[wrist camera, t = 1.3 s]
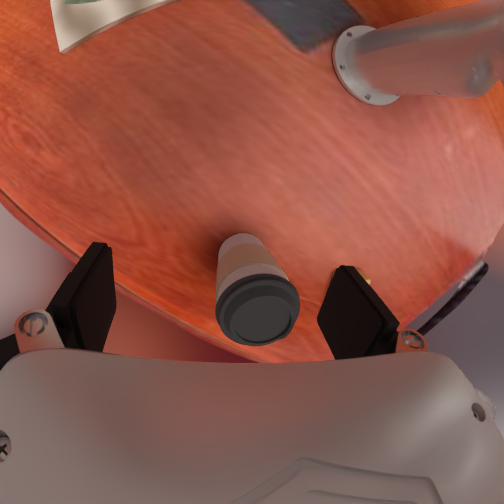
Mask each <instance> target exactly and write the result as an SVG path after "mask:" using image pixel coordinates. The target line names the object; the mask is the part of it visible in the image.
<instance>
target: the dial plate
mask: <svg viewBox="0 0 504 504" xmlns="http://www.w3.org/2000/svg"><path fill="white" fill-rule="evenodd" d="M50 1H51V8H52V15H53V21H54V26H55V31H56V36H57V41H58V45H59V50H60V52H61V53H64V54H65V53H67V52H68V51H70V50H72V49H73V48H75V47H77V46H78V45H80V44H82V43H83V42H85V41H87V40H89V39H90V38H92V37H94V36H96V35H98V34H99V33H101V32H103V31H105V30H107V29H109V28H111V27H113V26H115V25H117V24H120V23H122V22H124V21H126V20H128V19H131V18H133V17H135V16H138V15H140V14H142V13H145V12H148V11H150V10H153V9H155V8H158V7H161V6H164V5H167V4H170V3H173V2H176V1H179V0H50Z"/></svg>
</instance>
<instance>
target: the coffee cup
mask: <svg viewBox="0 0 504 504" xmlns="http://www.w3.org/2000/svg"><path fill="white" fill-rule="evenodd" d="M216 303H217V304H216V309H215V314H216V319H217V322H218V324H219V325H220V327H221V330H222V331H223V333H224V334H225V335H226V336H227V337H228V338H229V339H231V340H232V341H234V342H236V343H239V344H243V345H249V346H262V345H267V344H270V343H272V342H274V341H276V340H279V339H283V338H285V337H286V336H287V335H288V334H289V333H290V332H291V330H292V328H293V326H294V323H295V321H296V320H297V317H298V315H299V311H300V301H299V295H298V292H297V290H296V288H295V287H294V285H293V284H292V283H291V282H289V280H288V278H287V276H286V275H285V273H284V272H283V270H282V269H281V268H280V266H279V265H278V263H277V262H276V260H275V259H274V258H273V256H272V255H271V253H270V252H269V251H268V250H267V249H266V248H265V246H264V245H263V243H262V242H261V241H260V239H259V238H257V237H256V236H254V235H252V234H248V233H239V234H235V235H233V236H231V237H229V238H228V239H226V240H225V241H224V243H223V244H222V245H221V247H220V249H219V253H218V266H217V281H216Z"/></svg>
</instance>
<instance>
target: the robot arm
mask: <svg viewBox="0 0 504 504" xmlns="http://www.w3.org/2000/svg"><path fill="white" fill-rule="evenodd" d="M332 57H333V65H334V69H335V72H336V74H337V76H338V78H339V80H340V81H341V83H342V85H343V86H344V87H345V88H346V90H347V91H348V92H349V93H350V94H352V95H353V96H354V97H355V98H357V99H358V100H360V101H362V102H364V103H367V104H371V105H388V104H390V103H393V102H394V101H396V100H397V99H398V98H399V97H400V96H401V95H424V96H441V97H453V98H463V99H474V98H478V97H481V96H483V95H485V94H486V93H487V92H489V91H490V90H491V88H492V87H493V86H494V85H495V84H496V82H497V81H498V79H500V80H501V82H502V84H503V86H504V0H481V1H477V2H474V3H470V4H467V5H463V6H458V7H454V8H450V9H445V10H441V11H437V12H432V13H428V14H425V15H421V16H417V17H413V18H409V19H406V20H403V21H399V22H396V23H393V24H390V25H387V26H384V27H381V28H378V29H376V28H373V27H370V26H364V25H360V26H354V27H351V28H348V29H346V30H345V31H343V32H342V33H341V34H340V35H339V36H338V37H337V39H336V40H335V43H334V46H333V52H332ZM340 67H341V69H340ZM115 311H116V295H115V285H114V274H113V261H112V249H111V247H108V245H107V243H100V242H93V243H92V244H91V245H90V246H89V248H88V249H87V251H86V252H85V253H84V255H83V256H82V257H81V259H80V260H79V262H78V263H77V265H76V266H75V268H74V269H73V271H72V272H70V273H69V274H68V276H67V277H66V278H65V280H64V282H63V283H62V285H61V286H60V288H59V289H58V291H57V292H56V294H55V295H54V297H53V299H52V300H51V302H50V304H49V305H48V307H47V309H46V310H45V311H44V310H41V309H33V310H29V311H27V312H24V313H23V314H22V315H20V316H19V317H18V319H17V320H16V322H15V325H14V330H15V334H13V335H10V336H8V337H6V338H4V339H1V340H0V504H504V439H503V436H502V434H501V432H500V430H499V429H498V427H497V425H496V423H495V421H494V418H495V414H496V408H495V405H494V403H493V402H492V401H491V400H490V399H489V398H488V397H486V396H485V395H484V394H483V393H481V392H480V391H479V390H477V389H476V388H475V387H474V386H472V385H471V383H470V382H469V381H468V379H467V378H466V376H465V375H464V374H463V373H462V371H461V370H460V368H459V367H458V366H456V364H455V363H454V362H453V361H452V360H450V359H449V358H448V357H445V356H443V355H440V354H436V353H431V352H428V350H427V349H428V346H427V342H426V340H425V339H424V337H423V336H422V335H421V334H420V333H418V332H417V331H415V330H412V329H409V328H403V329H401V330H400V331H399V332H397V330H396V329H397V327H398V326H399V324H400V323H399V321H398V320H397V319H396V318H395V316H394V315H393V314H392V312H391V311H390V310H389V309H388V307H387V306H386V305H385V304H384V302H383V301H382V300H381V299H380V297H379V296H378V295H377V294H376V292H375V291H374V290H373V289H372V288H371V286H370V285H369V284H368V283H367V282H366V280H365V279H364V278H363V277H362V276H361V274H360V273H359V272H358V271H357V270H356V269H355V267H353V266H345V265H341V266H340V267H339V268H337V269H336V270H335V272H334V275H333V278H332V280H331V283H330V286H329V288H328V291H327V293H326V296H325V299H324V301H323V304H322V306H321V309H320V311H319V314H318V316H317V322H318V325H319V327H320V329H321V331H322V333H323V335H324V337H325V339H326V341H327V343H328V345H329V347H330V349H331V351H332V354H333V356H334V358H335V360H326V361H311V362H291V363H212V362H191V361H177V360H164V359H154V358H144V357H136V356H127V355H120V354H113V353H104V352H102V351H103V348H104V345H105V341H106V338H107V335H108V332H109V329H110V326H111V323H112V320H113V317H114V314H115Z"/></svg>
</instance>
